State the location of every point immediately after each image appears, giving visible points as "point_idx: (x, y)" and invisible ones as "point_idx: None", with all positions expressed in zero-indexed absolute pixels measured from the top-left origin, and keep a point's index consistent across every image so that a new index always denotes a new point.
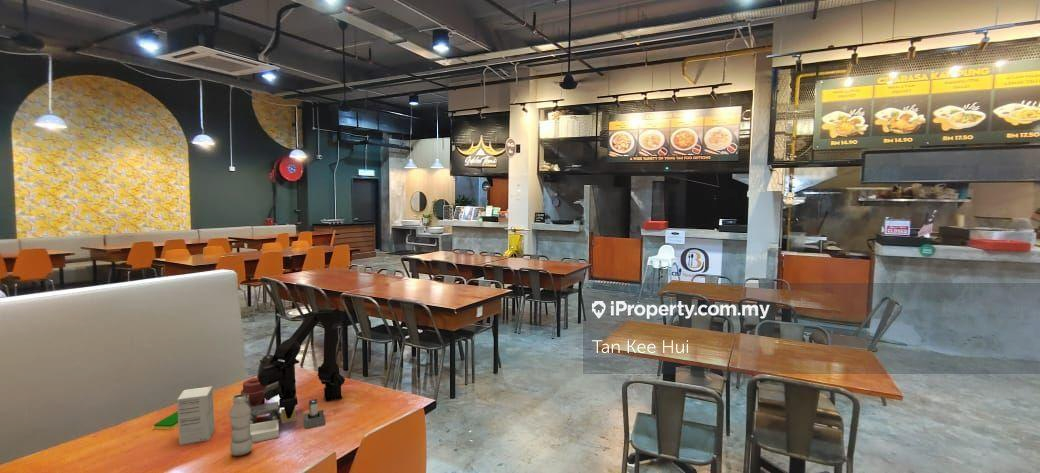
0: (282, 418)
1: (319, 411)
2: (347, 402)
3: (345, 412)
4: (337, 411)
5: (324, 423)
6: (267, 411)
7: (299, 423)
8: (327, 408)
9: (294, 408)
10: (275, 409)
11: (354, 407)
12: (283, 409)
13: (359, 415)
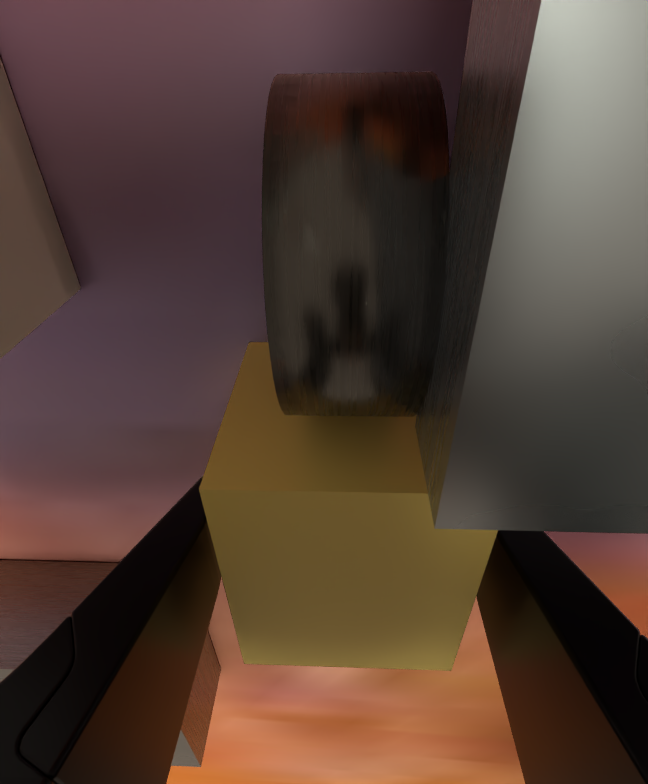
0: (233, 410)
1: (177, 753)
2: (455, 768)
3: (261, 746)
4: (310, 727)
5: None
6: (510, 7)
7: (140, 530)
8: (429, 702)
9: (371, 662)
10: (448, 421)
11: (326, 774)
12: (468, 534)
13: (170, 770)
